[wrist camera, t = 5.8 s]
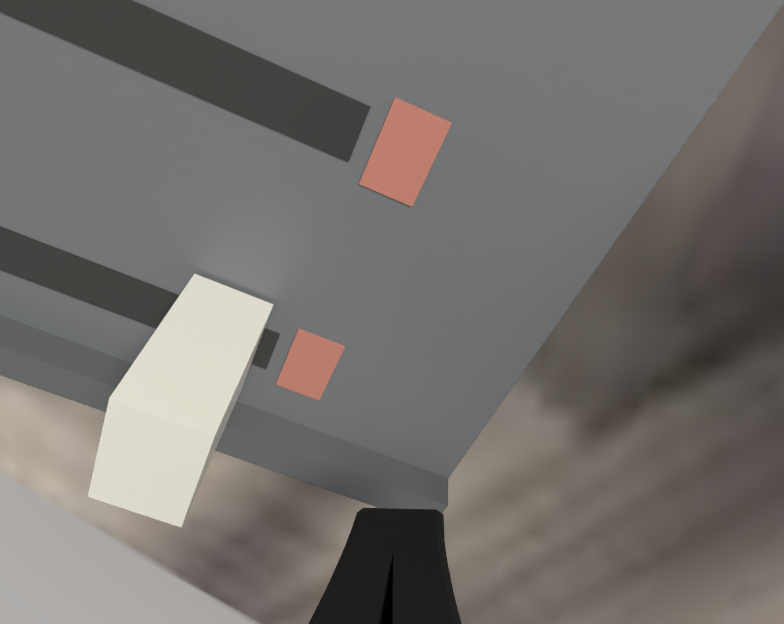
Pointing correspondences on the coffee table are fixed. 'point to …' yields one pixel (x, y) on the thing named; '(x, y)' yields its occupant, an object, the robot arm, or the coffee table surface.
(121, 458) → the block
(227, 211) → the breaker panel
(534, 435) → the coffee table surface
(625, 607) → the coffee table surface
